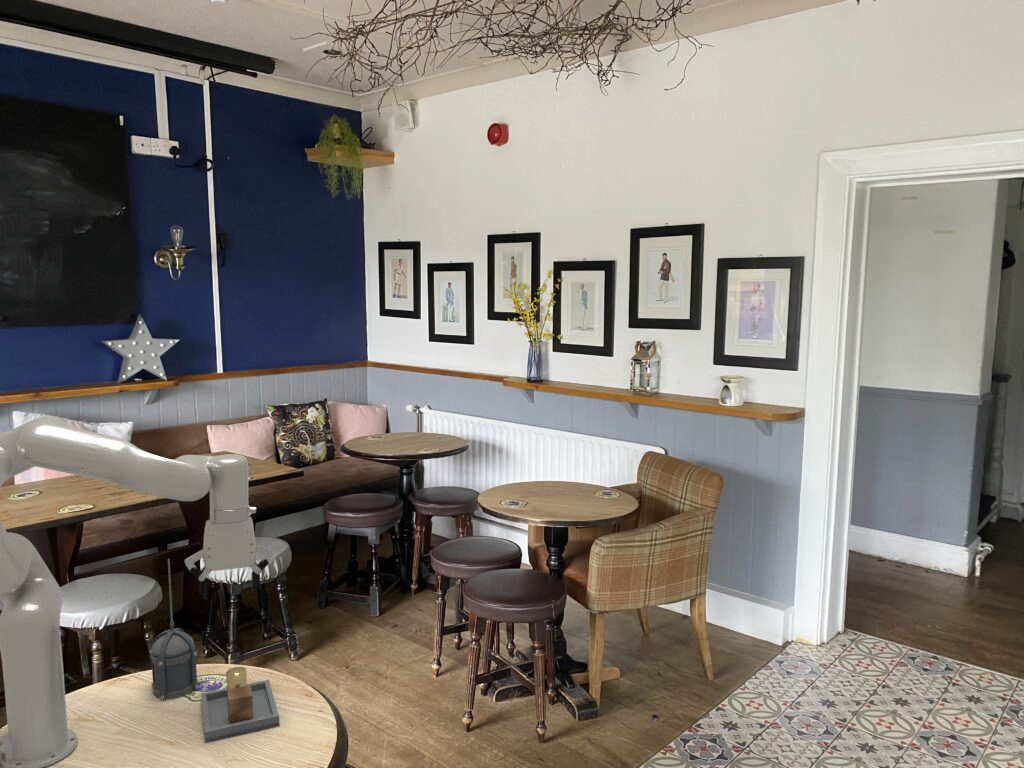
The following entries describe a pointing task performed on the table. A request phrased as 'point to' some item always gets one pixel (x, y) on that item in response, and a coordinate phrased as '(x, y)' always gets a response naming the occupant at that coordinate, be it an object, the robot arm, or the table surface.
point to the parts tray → (262, 719)
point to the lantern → (173, 662)
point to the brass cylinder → (236, 678)
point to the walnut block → (240, 704)
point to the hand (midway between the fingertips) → (230, 593)
